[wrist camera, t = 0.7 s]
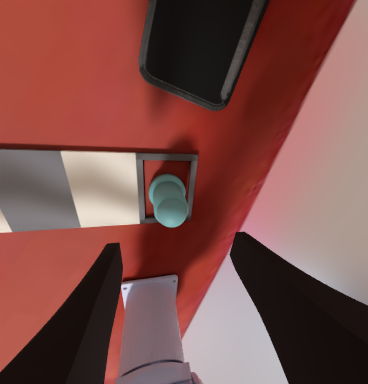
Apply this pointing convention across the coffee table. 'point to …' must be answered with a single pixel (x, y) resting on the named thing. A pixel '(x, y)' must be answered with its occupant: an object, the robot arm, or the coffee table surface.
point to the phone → (198, 47)
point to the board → (77, 188)
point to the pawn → (168, 200)
